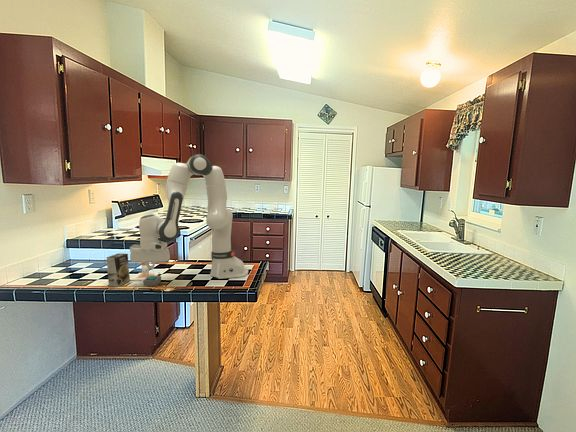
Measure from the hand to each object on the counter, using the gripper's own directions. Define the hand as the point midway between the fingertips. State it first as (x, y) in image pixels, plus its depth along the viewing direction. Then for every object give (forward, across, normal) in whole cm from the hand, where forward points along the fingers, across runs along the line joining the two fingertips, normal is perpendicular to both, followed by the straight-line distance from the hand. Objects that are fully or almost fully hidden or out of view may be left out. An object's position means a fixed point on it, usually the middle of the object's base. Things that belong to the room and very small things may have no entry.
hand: (150, 269), depth 171 cm
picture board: (+8, -8, +11) cm, 16 cm away
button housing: (+8, 0, 0) cm, 8 cm away
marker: (+7, -8, +11) cm, 15 cm away
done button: (+6, 0, 0) cm, 6 cm away
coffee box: (+8, -18, +1) cm, 20 cm away
